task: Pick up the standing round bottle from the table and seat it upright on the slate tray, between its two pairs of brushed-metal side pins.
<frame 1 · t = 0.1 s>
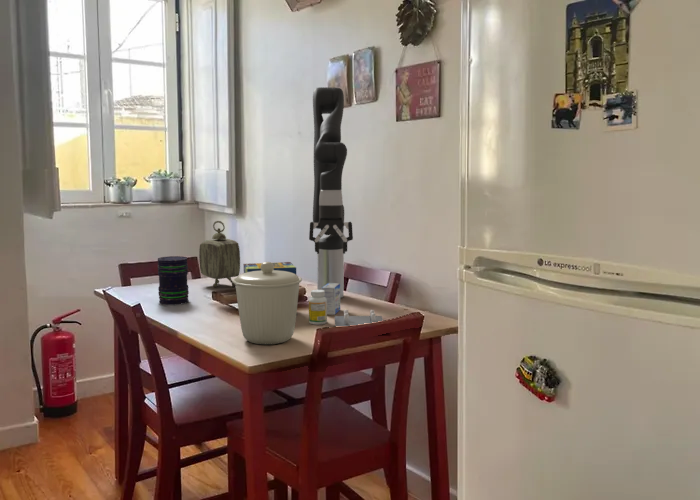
hand: (331, 253, 222), 17 cm above the table, tool pointing down, fingers open, 8 cm apart
supplement bottle: (317, 323, 199), on the table
canister: (268, 340, 180), on the table
storage jar: (173, 302, 228), on the table
medicine box: (331, 312, 213), on the table
protein box: (270, 314, 211), on the table
tabletop clock: (219, 287, 256), on the table
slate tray: (359, 327, 194), on the table
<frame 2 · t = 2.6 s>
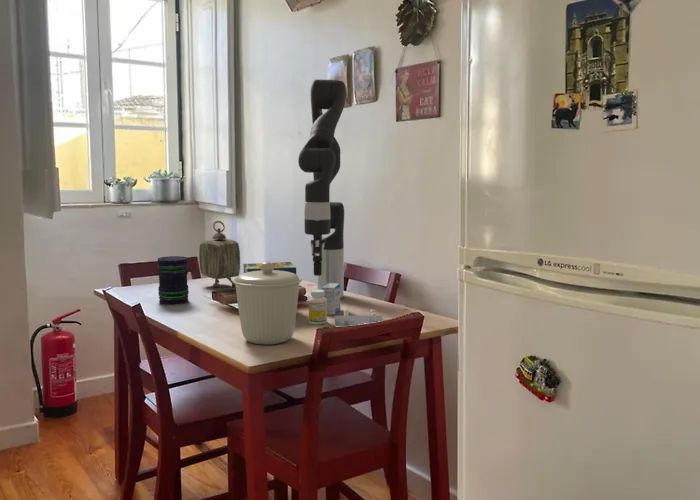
hand: (317, 272, 197), 15 cm above the table, tool pointing down, fingers open, 8 cm apart
nothing on the table moved.
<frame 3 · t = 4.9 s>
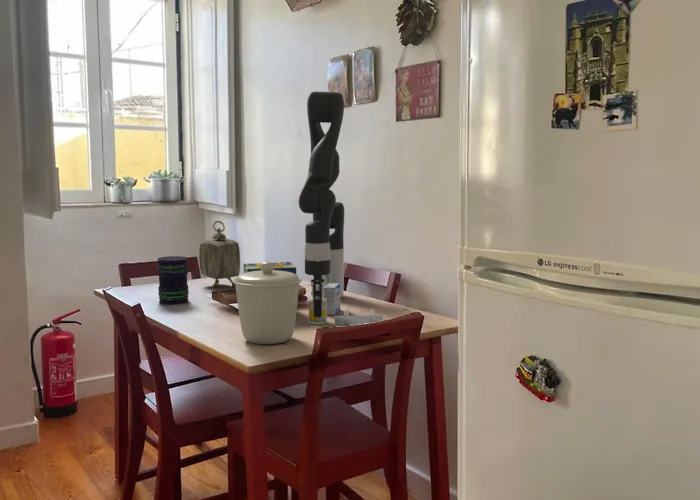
hand: (317, 314, 199), 3 cm above the table, tool pointing down, fingers closed on supplement bottle, 5 cm apart
supplement bottle: (317, 323, 199), on the table, touching gripper
everything else where it was.
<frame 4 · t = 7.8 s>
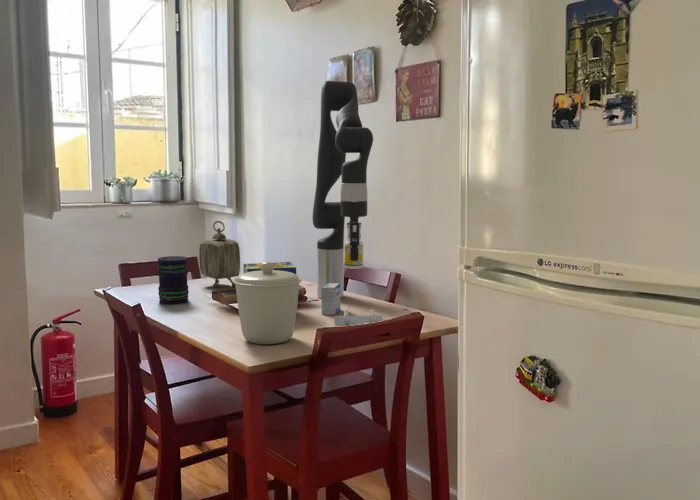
hand: (354, 258, 191), 20 cm above the table, tool pointing down, fingers closed on supplement bottle, 5 cm apart
supplement bottle: (353, 268, 192), point 17 cm above the table, touching gripper
everything else where it was.
when the fingers open (5 cm above the table, at t = 10.7 s): supplement bottle drops 1 cm, resting on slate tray.
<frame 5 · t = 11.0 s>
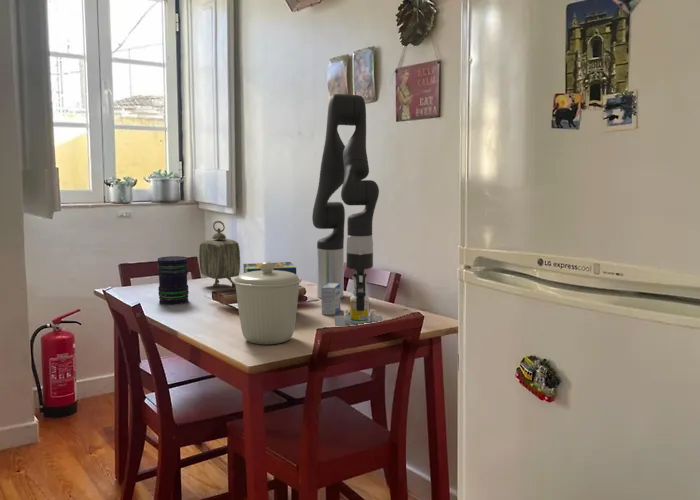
hand: (359, 307, 193), 6 cm above the table, tool pointing down, fingers open, 8 cm apart
supplement bottle: (359, 322, 194), point 1 cm above the table, touching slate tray
everything else where it was.
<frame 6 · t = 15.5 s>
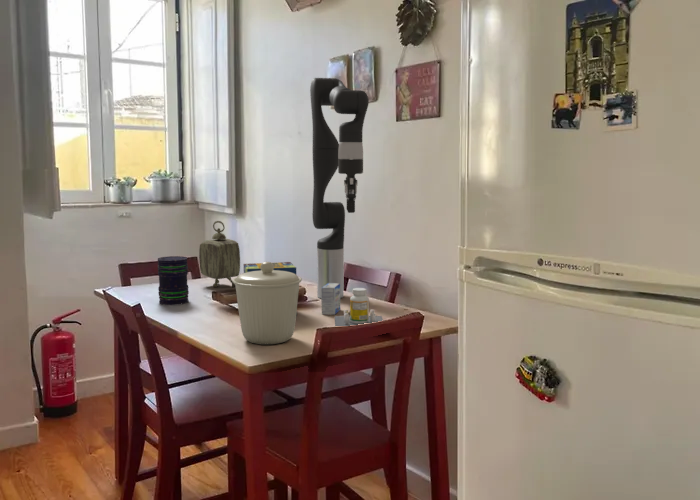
hand: (350, 211, 205), 32 cm above the table, tool pointing down, fingers open, 8 cm apart
nothing on the table moved.
at the end: supplement bottle 0.2 cm off-centre on the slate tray, point 1.3 cm above the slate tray's base; supplement bottle tilted 0°; the gripper is holding nothing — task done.
